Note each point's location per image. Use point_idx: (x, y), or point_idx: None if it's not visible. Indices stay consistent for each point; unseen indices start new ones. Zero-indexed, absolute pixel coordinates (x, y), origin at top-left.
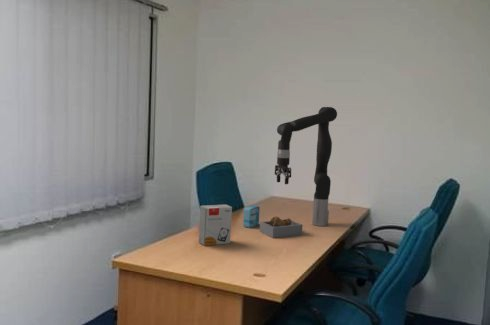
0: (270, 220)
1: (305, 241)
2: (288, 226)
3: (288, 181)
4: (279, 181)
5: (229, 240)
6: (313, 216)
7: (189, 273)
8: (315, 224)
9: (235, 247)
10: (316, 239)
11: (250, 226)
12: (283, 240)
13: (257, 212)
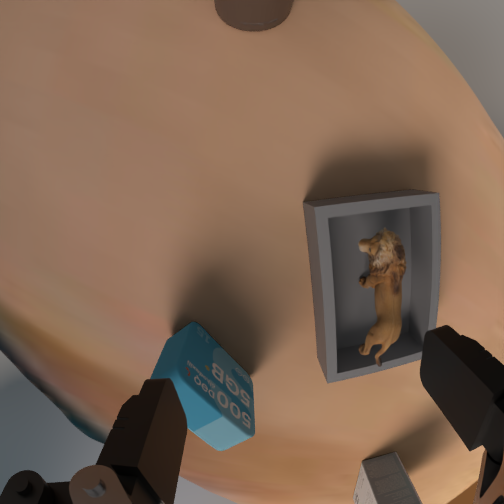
0: (378, 356)
1: (480, 229)
2: (439, 280)
3: (487, 352)
4: (172, 396)
5: (398, 458)
6: (251, 10)
7: (473, 481)
8: (270, 26)
9: (428, 441)
10: (473, 170)
11: (247, 376)
12: (447, 306)
13: (199, 368)
